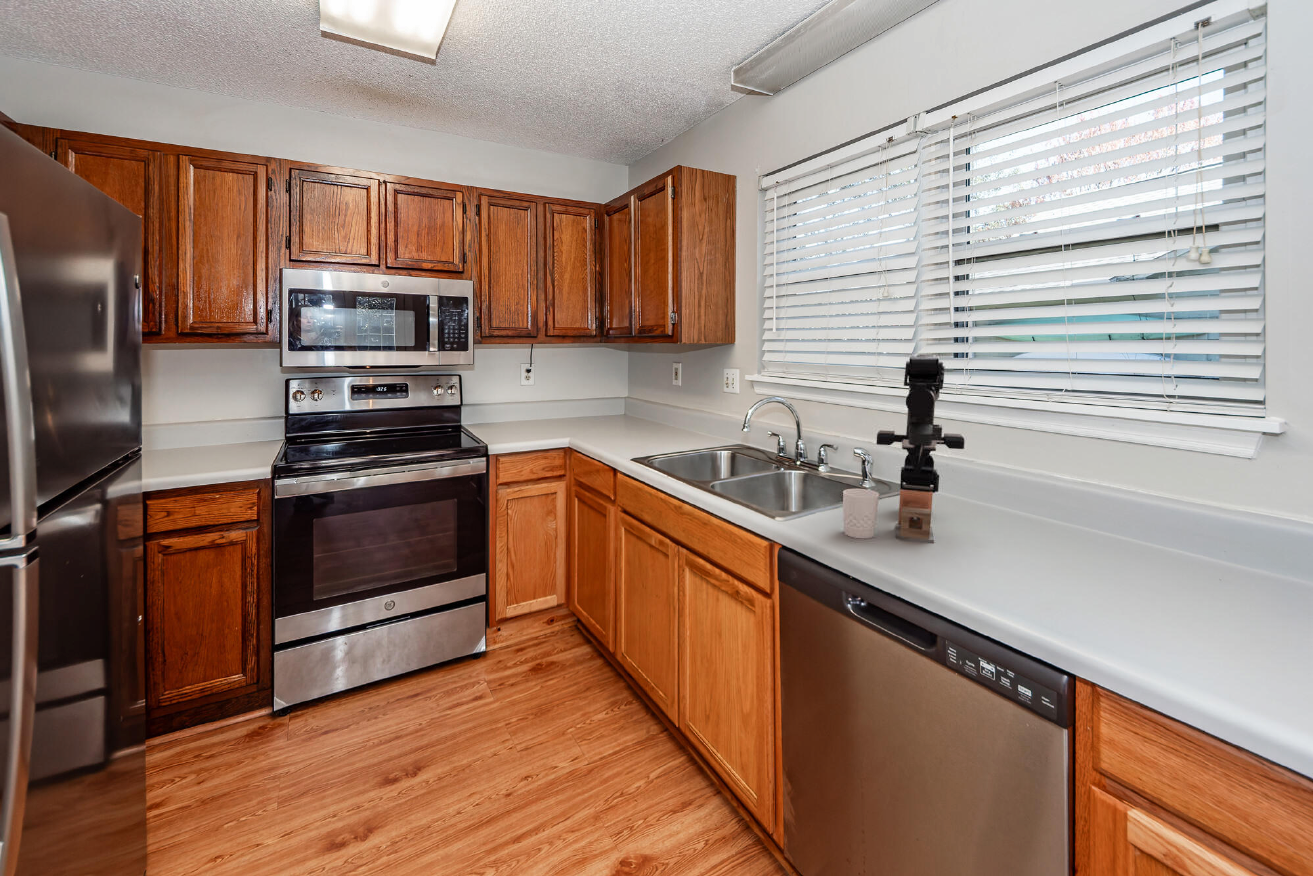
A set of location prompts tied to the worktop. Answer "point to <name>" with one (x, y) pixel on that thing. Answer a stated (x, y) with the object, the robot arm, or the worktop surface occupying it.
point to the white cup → (860, 512)
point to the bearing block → (915, 531)
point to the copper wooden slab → (914, 503)
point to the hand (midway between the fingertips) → (916, 475)
